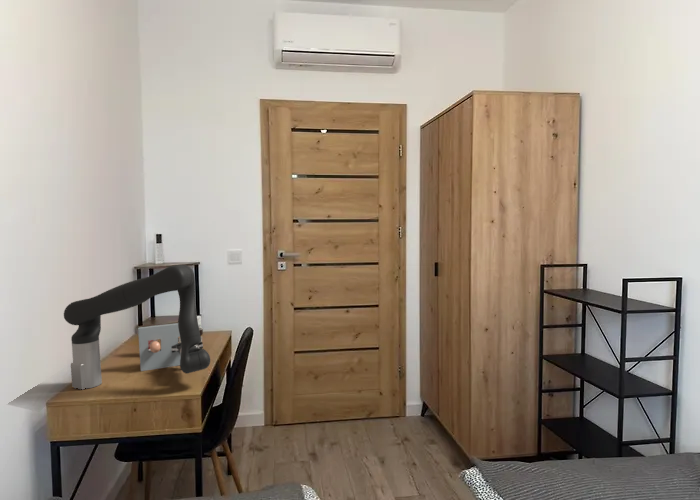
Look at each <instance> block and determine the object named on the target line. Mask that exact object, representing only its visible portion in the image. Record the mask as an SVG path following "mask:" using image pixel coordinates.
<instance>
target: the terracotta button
mask: <svg viewBox="0 0 700 500" xmlns="http://www.w3.org/2000/svg"><path fill="white" fill-rule="evenodd" d="M160 349H161V343H160V341H158V340H157V341H156V340H154V341H152V342H151V343H150V350H151V351H152V352H153V353H157V352H158V351H159V350H160Z"/></svg>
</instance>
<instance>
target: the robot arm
mask: <svg viewBox="0 0 700 500" xmlns="http://www.w3.org/2000/svg"><path fill="white" fill-rule="evenodd" d="M176 291H177V292H178V293H177V294H178V298H179V311H178V318H177V320H178V321H177V323H178V328H179V334H180V337H179V338H180V339H181V343H179V342H178V344H176V345H173V346H171V347H172V352H179V354H180V357H181V358H180V365H179V367H180V370H181V371H182V372H183V373H184V374H192V373H196V372H198V371H203V370H205V369H207V368H208V367H209V366H210V364H211V356H210V354H209V352H208V351H207V350H206V349H204V344H203V343H204V342H203V341H202V342H201V336H200V331H199V325H198V320H197V316H198V314H197V313H198V312H197V304H196V303H197V302H196V279H195V273H194V270H193V269H192V268H191V266H189V265H186V264H178V265H177V264H175V265H169V266H168V267H165V268H163V269H162V270H160V271H158V272H157V271H156V273H154V274H151V275H149V276H147V277H142V278H138V279H134V280H132V281H128V282H125V283H123V284H120V285H116V286H115V287H113V288H110V289H108V290H106V291H103V292H101V293H99V294H98V295H95V296H93V297H89V298H85V299H80V300H75V301H73V302H70V303H69V304H68V305H67V306H66V307H65V309H64V311H63V318H64V320H65V322H67V323H68V324H70V325H72V326H78V328H77V330H76V331H75V332H74V333H73V334H72V335H71V340H70V341H71V354H72V362H71V363H70V373H71V374H70V375H71V388H72V387H74V388H73V389H76V388H78V389H77V390H81V389H82V390H84V389H85V388H86V389H92V388H96V387H98V386H100V385H102V384H103V380H102V379H103V377H102V367H101V366H102V365H101V362H102V361H101V351H100V350H101V349H100V333H101V331H102V330H101V329H102V328H101V326H102V325H101V321H102V320H101V317H102V316H103V315H107V314H112V313H117V312H120V311H125V310H127V309H131V308H134V307H137V306H138V305H141V304H143V303H145V302H147V301H149V299H151V298H152V297H155V296H157V295H161V294H164V293H165V294H166V293H169V292H176ZM200 348H201V349H200ZM86 389H85V390H86Z"/></svg>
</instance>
